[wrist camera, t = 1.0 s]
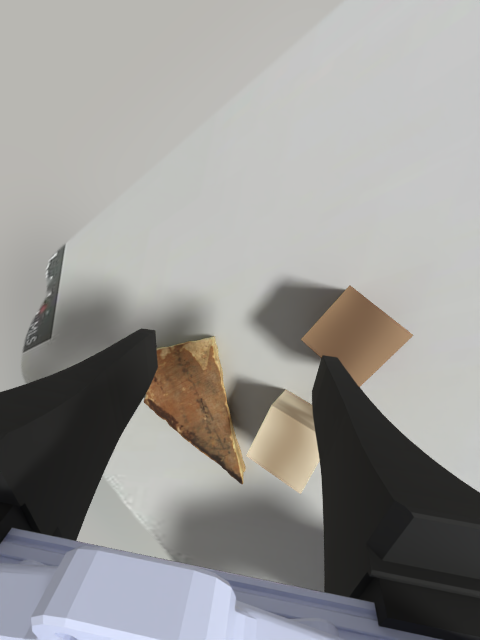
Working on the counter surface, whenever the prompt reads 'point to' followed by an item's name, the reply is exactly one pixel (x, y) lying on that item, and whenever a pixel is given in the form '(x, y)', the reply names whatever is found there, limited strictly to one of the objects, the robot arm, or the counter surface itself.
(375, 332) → the walnut block
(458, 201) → the counter surface
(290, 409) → the maple block
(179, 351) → the shard
